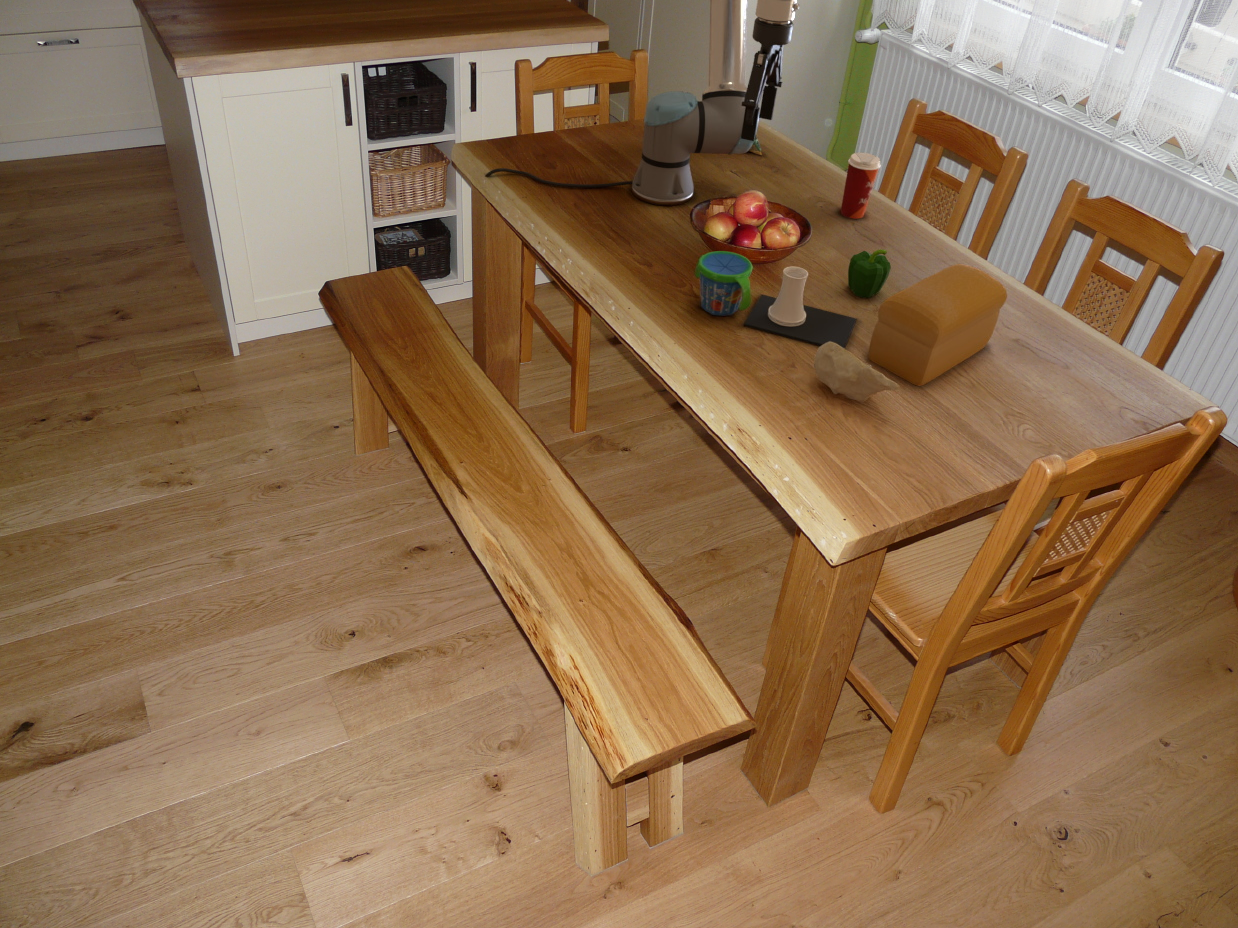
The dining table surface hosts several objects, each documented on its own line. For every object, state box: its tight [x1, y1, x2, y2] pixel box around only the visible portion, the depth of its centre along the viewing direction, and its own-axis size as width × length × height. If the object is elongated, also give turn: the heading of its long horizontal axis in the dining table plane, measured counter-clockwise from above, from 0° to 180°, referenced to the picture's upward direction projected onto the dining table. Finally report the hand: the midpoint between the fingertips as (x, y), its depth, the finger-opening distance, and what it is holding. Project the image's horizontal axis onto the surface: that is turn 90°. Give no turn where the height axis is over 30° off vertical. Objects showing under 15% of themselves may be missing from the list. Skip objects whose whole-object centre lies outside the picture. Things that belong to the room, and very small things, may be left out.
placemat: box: [743, 294, 857, 349], centre depth 186 cm, size 20×13×1 cm, turn 68°
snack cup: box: [694, 250, 754, 317], centre depth 185 cm, size 16×10×10 cm
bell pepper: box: [847, 249, 892, 299], centre depth 194 cm, size 8×8×10 cm
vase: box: [768, 265, 809, 327], centre depth 183 cm, size 8×8×10 cm
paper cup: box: [840, 152, 882, 220], centre depth 223 cm, size 8×8×14 cm
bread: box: [868, 263, 1008, 387], centre depth 176 cm, size 24×13×15 cm, turn 132°
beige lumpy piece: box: [813, 341, 900, 403], centre depth 167 cm, size 15×7×15 cm
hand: (756, 129), depth 193 cm, fingers open, 13 cm apart
